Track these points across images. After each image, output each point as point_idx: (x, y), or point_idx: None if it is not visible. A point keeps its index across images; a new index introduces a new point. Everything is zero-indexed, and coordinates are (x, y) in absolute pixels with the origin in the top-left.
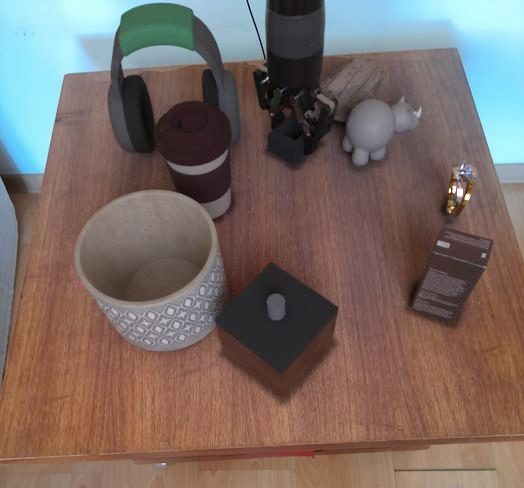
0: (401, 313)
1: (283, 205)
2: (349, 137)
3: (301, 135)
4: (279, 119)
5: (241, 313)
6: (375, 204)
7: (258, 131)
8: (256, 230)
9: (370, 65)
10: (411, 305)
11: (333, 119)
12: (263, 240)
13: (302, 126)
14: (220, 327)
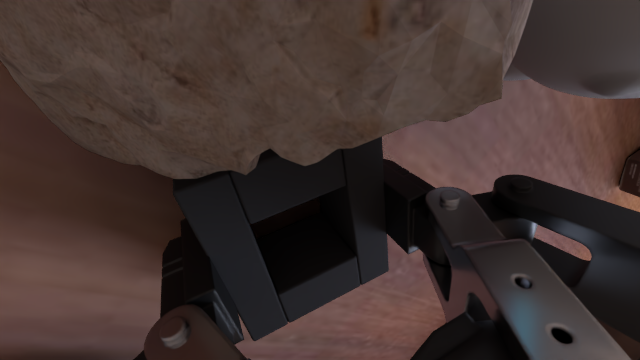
0: (608, 201)
1: (407, 284)
2: (560, 91)
3: (352, 225)
4: (231, 311)
5: None
6: (552, 111)
7: (99, 284)
8: (406, 335)
9: None
10: (628, 192)
11: (628, 210)
12: (426, 327)
13: (439, 298)
14: None
